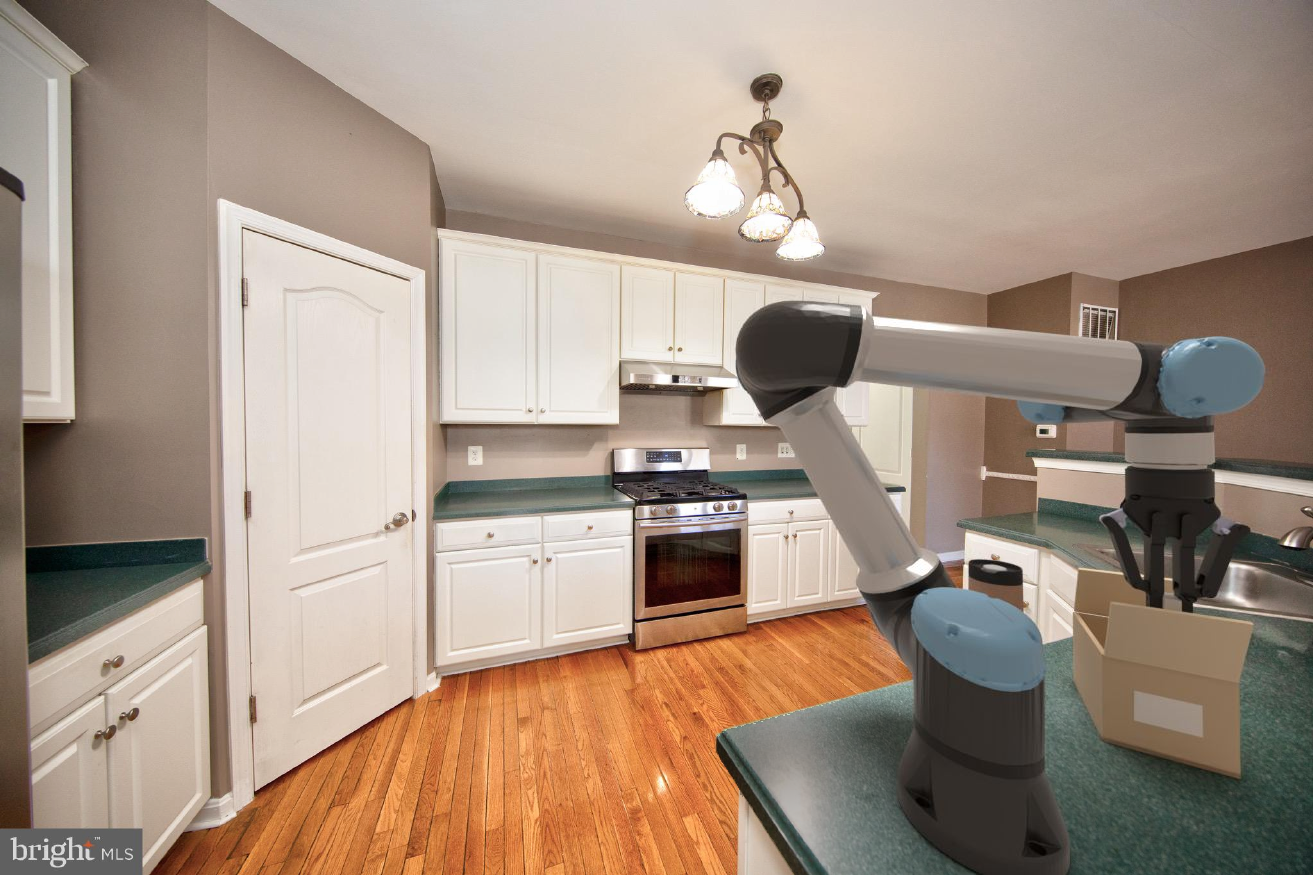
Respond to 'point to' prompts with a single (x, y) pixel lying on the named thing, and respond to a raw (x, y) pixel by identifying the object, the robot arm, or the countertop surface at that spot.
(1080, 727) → the countertop surface
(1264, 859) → the countertop surface
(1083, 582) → the far flap
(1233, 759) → the carton
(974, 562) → the travel mug
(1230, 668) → the near flap
